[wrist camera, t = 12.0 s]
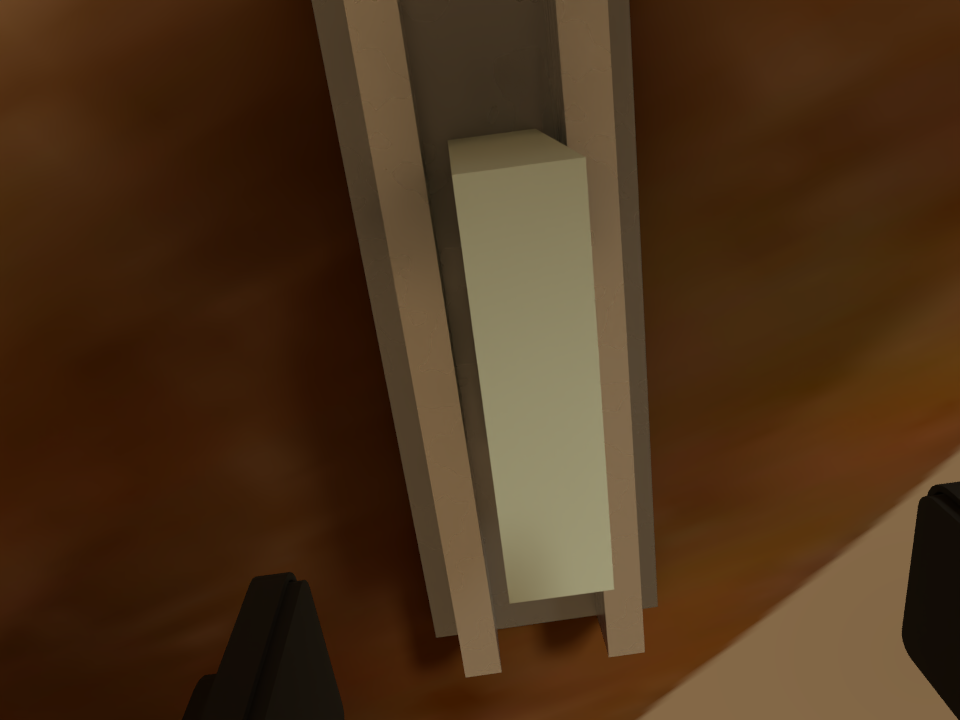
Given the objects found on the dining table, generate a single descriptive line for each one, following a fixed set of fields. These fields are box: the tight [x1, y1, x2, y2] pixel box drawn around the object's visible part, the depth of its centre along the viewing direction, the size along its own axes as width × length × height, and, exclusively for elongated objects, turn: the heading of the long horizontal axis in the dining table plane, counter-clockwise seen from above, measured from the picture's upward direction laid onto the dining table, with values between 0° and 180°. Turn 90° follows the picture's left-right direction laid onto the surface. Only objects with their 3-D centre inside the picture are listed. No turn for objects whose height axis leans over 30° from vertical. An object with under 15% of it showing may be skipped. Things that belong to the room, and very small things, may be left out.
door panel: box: [448, 129, 614, 604], centre depth 22 cm, size 12×3×9 cm, turn 7°
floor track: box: [311, 0, 658, 677], centre depth 26 cm, size 30×10×4 cm, turn 7°
